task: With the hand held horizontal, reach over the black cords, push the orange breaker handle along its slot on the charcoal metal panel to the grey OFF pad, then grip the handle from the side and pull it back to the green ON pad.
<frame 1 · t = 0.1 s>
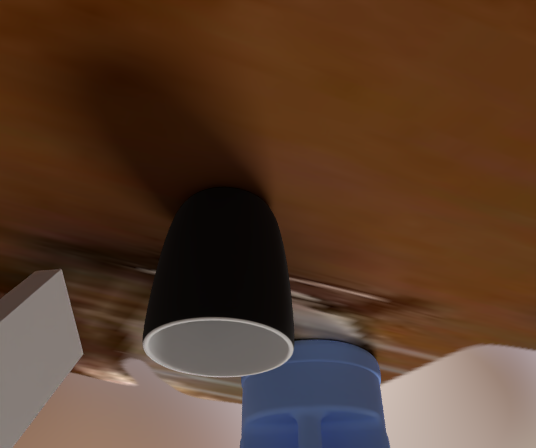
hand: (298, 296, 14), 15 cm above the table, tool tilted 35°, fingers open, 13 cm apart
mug: (240, 222, 37), on the table
water jug: (309, 362, 59), on the table
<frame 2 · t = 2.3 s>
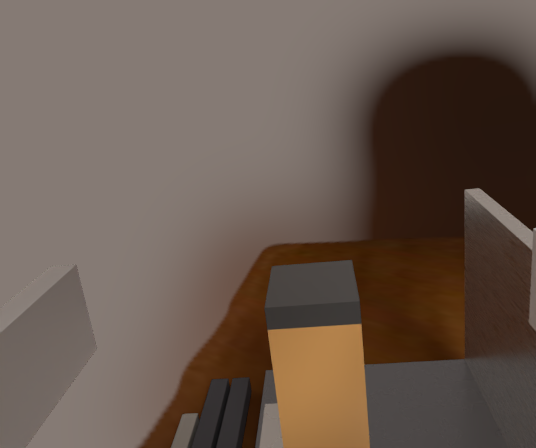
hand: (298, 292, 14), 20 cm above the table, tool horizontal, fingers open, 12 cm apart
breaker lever: (322, 389, 29), point 9 cm above the table, slide at 5.0 cm
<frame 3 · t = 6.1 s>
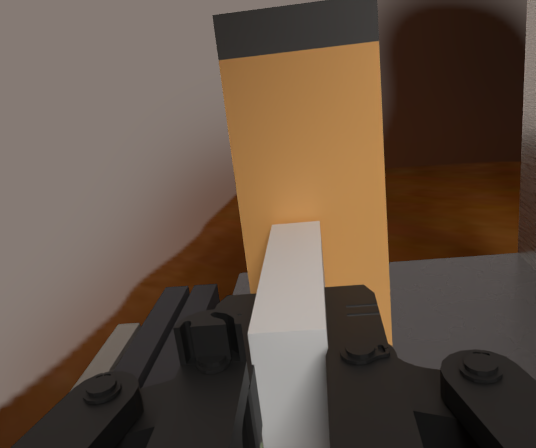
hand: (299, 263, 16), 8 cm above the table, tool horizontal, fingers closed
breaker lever: (313, 209, 18), point 9 cm above the table, slide at 6.6 cm
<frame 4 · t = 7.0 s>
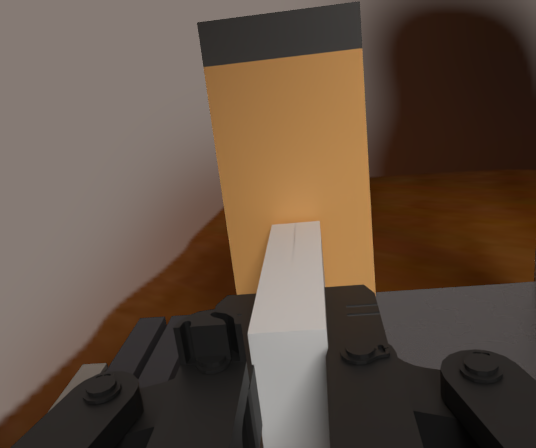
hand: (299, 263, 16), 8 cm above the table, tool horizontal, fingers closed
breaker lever: (301, 213, 18), point 9 cm above the table, slide at 10.1 cm, touching gripper
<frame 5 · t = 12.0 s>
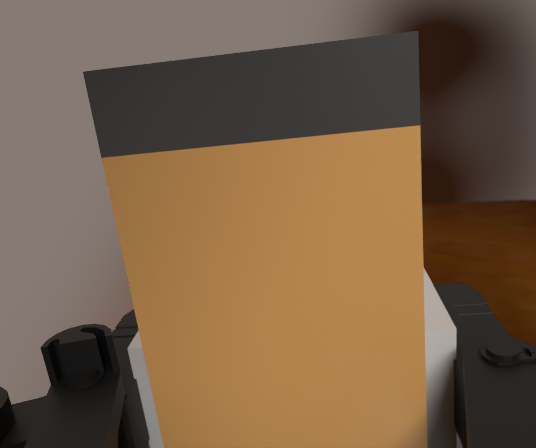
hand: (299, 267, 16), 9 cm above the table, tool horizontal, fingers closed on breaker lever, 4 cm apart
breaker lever: (296, 369, 11), point 9 cm above the table, slide at 10.3 cm, touching gripper
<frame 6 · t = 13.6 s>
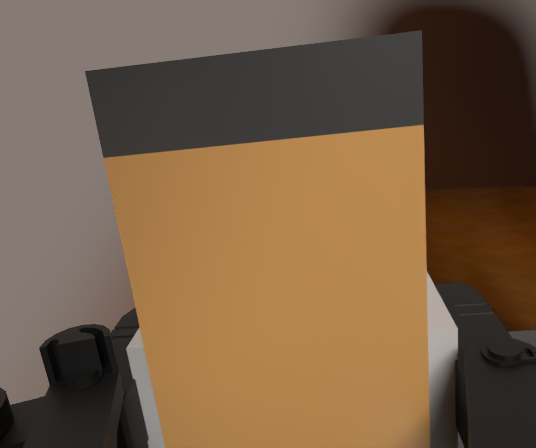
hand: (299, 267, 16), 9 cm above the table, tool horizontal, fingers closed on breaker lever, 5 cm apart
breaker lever: (297, 370, 11), point 9 cm above the table, slide at 5.0 cm, touching gripper
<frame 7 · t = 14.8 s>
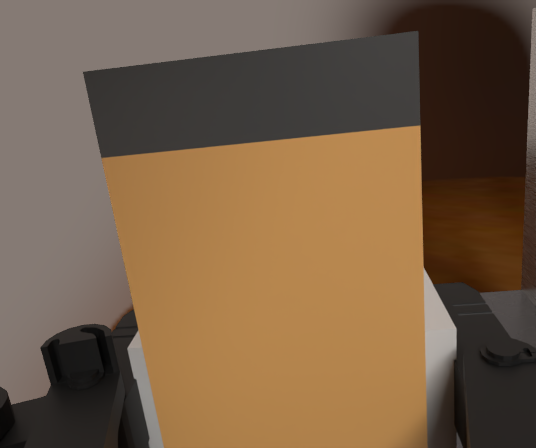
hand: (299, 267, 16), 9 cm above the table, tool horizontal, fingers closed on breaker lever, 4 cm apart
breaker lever: (296, 370, 11), point 9 cm above the table, slide at 0.8 cm, touching gripper
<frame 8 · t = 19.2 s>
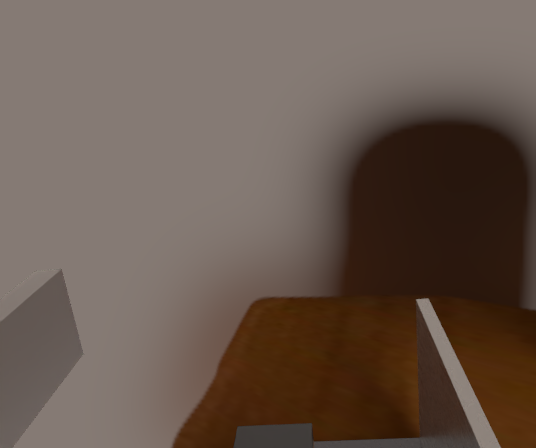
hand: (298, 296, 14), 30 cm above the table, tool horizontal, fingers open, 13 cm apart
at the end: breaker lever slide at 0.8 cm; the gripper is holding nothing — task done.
